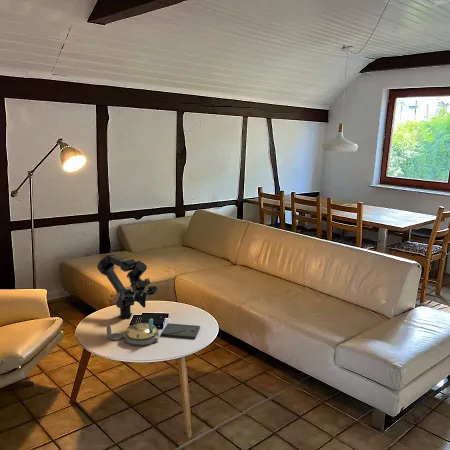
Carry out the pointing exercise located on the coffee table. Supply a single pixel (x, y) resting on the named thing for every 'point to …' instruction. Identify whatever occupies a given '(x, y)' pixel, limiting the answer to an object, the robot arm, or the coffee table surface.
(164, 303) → the coffee table surface
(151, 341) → the dark grey round disc
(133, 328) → the tan round piece
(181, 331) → the picture frame
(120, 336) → the pocket watch
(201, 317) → the coffee table surface
